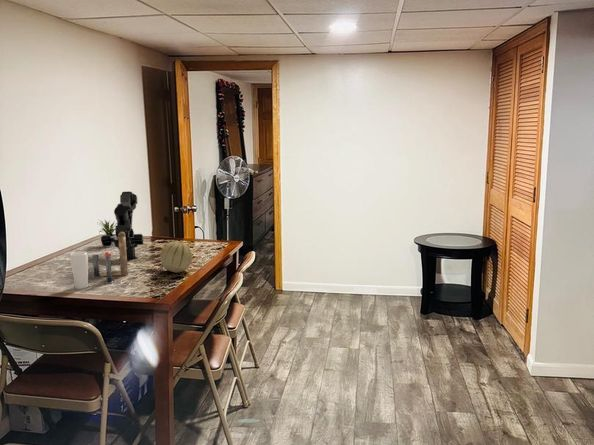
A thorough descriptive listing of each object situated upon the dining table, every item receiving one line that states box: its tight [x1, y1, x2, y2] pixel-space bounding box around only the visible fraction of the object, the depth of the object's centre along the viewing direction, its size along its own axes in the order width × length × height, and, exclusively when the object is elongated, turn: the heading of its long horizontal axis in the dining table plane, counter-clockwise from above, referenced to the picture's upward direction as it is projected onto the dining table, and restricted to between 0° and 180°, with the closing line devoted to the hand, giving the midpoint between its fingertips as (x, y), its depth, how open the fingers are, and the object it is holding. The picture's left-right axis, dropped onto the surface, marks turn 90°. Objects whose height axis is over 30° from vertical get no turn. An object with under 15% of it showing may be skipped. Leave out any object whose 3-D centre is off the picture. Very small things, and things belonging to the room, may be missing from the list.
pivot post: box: [91, 254, 103, 279], centre depth 237 cm, size 4×4×10 cm
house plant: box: [97, 219, 117, 248], centre depth 292 cm, size 14×14×16 cm
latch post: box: [104, 251, 115, 285], centre depth 228 cm, size 4×4×14 cm
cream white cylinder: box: [69, 251, 89, 290], centre depth 221 cm, size 7×7×15 cm
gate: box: [100, 232, 129, 277], centre depth 237 cm, size 12×3×20 cm, turn 102°
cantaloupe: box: [159, 239, 193, 273], centre depth 244 cm, size 15×15×15 cm
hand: (121, 255), depth 243 cm, fingers closed
